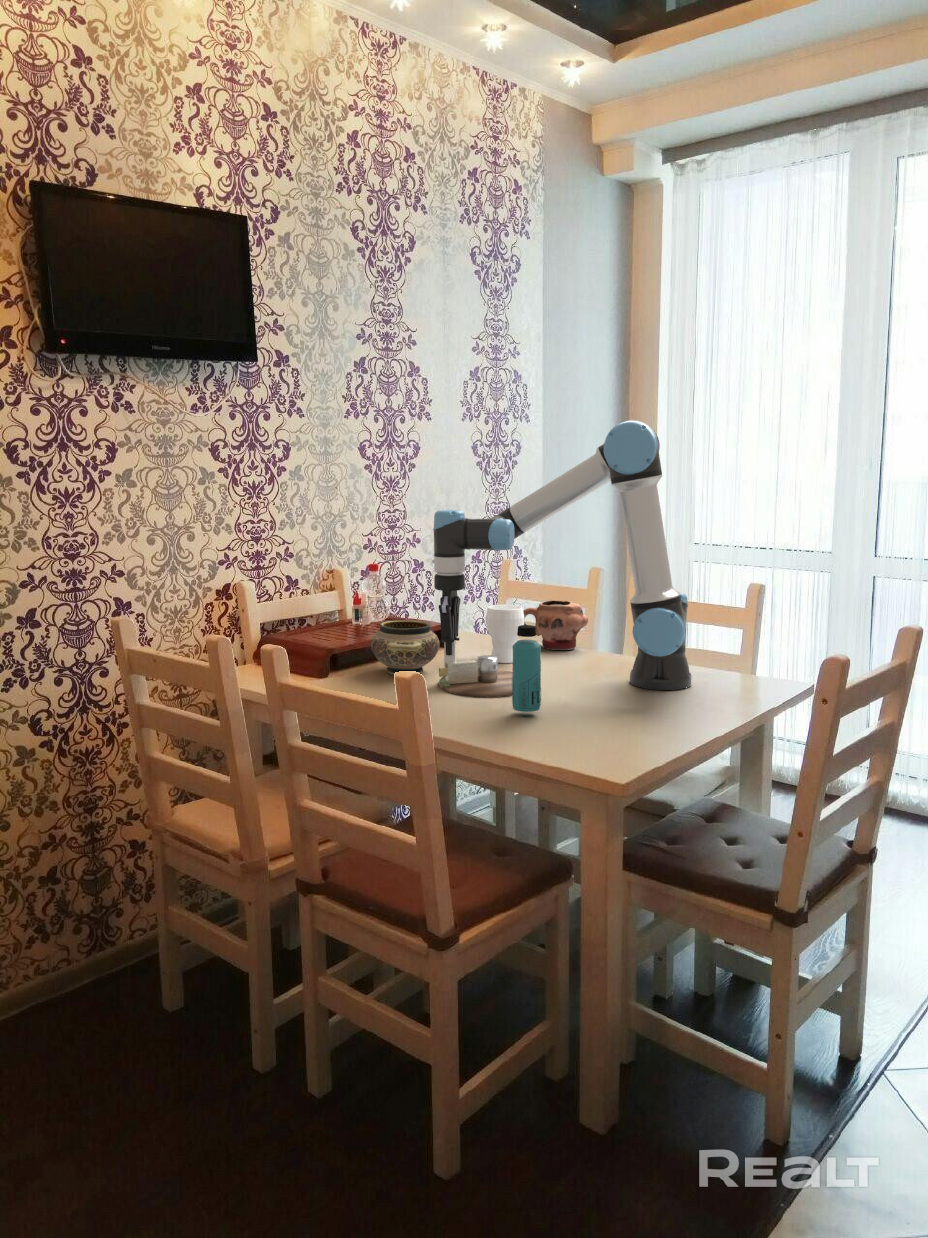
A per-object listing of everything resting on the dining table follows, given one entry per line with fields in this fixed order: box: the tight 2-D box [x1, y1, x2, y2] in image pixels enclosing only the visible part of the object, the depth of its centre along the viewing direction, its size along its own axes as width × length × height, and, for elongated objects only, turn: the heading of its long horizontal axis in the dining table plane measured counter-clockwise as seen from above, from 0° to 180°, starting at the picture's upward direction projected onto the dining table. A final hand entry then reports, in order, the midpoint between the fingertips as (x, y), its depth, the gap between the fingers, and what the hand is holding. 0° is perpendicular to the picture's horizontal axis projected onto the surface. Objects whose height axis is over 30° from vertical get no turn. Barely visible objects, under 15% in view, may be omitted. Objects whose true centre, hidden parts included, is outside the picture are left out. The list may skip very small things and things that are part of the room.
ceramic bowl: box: [370, 619, 441, 675], centre depth 245 cm, size 24×18×15 cm
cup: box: [485, 603, 525, 664], centre depth 258 cm, size 11×11×15 cm
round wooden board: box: [438, 669, 513, 698], centre depth 232 cm, size 24×24×1 cm
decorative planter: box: [523, 600, 589, 651], centre depth 275 cm, size 20×12×14 cm, turn 86°
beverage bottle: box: [511, 624, 542, 713], centre depth 204 cm, size 6×7×20 cm
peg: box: [438, 654, 499, 684], centre depth 230 cm, size 15×5×6 cm, turn 106°
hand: (450, 667), depth 233 cm, fingers closed
